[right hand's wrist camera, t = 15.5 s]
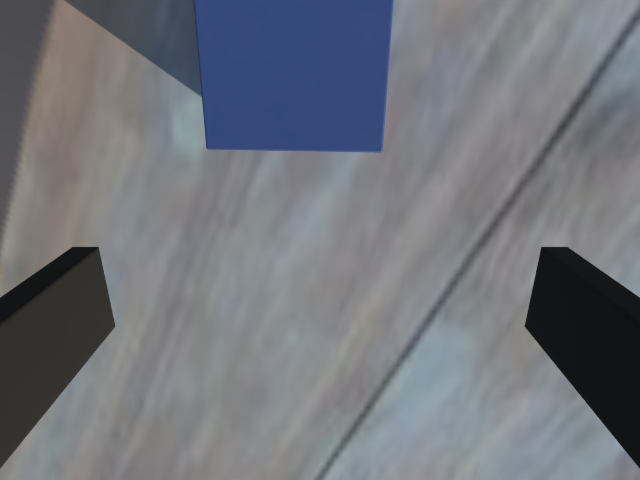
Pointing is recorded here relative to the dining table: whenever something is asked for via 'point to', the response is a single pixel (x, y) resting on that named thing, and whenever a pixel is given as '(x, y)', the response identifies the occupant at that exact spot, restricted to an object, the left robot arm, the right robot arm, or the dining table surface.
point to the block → (294, 73)
